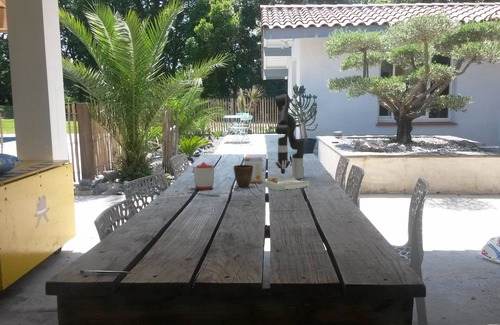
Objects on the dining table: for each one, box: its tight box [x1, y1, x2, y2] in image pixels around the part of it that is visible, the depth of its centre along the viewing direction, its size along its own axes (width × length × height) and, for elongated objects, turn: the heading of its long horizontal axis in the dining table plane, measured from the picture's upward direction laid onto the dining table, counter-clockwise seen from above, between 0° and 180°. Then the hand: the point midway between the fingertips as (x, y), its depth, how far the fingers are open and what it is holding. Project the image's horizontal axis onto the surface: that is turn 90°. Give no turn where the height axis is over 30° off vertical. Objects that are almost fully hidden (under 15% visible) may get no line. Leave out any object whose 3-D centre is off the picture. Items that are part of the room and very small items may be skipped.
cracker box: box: [243, 156, 263, 184], centre depth 387 cm, size 14×6×21 cm, turn 84°
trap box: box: [263, 177, 311, 191], centre depth 368 cm, size 28×20×4 cm
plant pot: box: [233, 164, 253, 189], centre depth 366 cm, size 15×15×16 cm
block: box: [266, 176, 278, 183], centre depth 367 cm, size 6×5×4 cm
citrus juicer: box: [191, 161, 215, 191], centre depth 361 cm, size 16×17×20 cm
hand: (282, 173), depth 371 cm, fingers closed
